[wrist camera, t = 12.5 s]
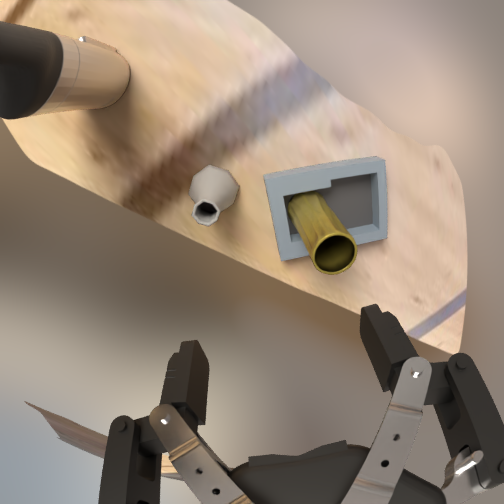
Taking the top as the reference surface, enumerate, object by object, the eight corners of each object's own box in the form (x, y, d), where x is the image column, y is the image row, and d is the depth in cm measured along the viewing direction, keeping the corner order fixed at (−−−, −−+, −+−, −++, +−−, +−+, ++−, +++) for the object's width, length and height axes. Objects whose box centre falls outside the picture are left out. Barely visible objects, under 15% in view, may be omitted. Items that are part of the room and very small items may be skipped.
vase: (324, 226, 42) (356, 276, 30) (286, 227, 42) (306, 280, 30) (327, 189, 39) (365, 228, 27) (287, 189, 39) (309, 229, 27)
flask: (248, 184, 39) (250, 206, 30) (219, 221, 42) (214, 252, 33) (207, 155, 37) (197, 169, 28) (180, 194, 40) (163, 219, 31)
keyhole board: (263, 174, 39) (264, 179, 36) (376, 156, 37) (385, 159, 35) (278, 251, 45) (281, 261, 42) (379, 230, 44) (387, 238, 41)
